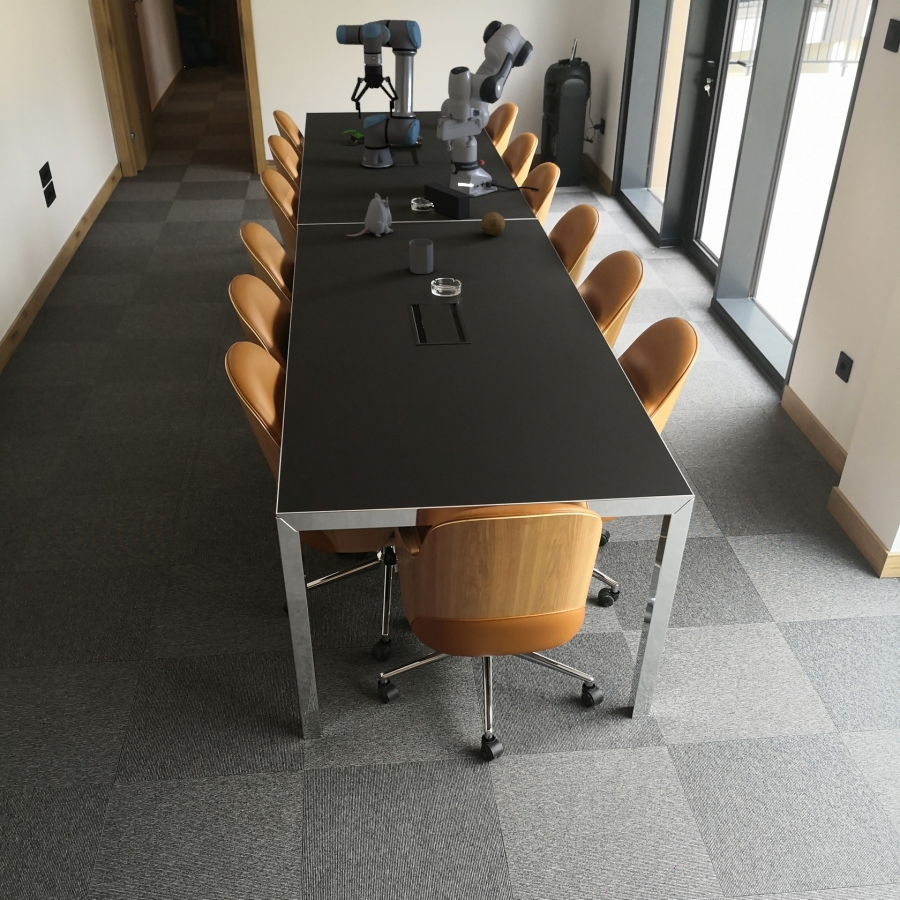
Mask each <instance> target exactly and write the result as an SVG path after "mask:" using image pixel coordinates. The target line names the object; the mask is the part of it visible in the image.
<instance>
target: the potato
mask: <svg viewBox="0 0 900 900" xmlns="http://www.w3.org/2000/svg"><path fill="white" fill-rule="evenodd" d="M505 226H506V220H505V218H504V217H503V215H501V214H500V213H498V212H496V211H490V212H487V213H485V214H484V215H483V217H482V218H481V222H480V229H481V231H482V232H483V233H485V234H486V235H489V236H491V237H493V236H498V235H499V234H502V233H503V232H504V229H505Z"/></svg>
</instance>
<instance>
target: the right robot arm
mask: <svg viewBox="0 0 900 900" xmlns="http://www.w3.org/2000/svg"><path fill="white" fill-rule="evenodd" d="M482 35H483V36H482V41H483V43H484V44H485V46H484V50H483V54H484V58H485V59H484V60H483V61H482V62H481V64H480V65H479V66H478V68H477V69H476V72H475V73H473V72H471V71H470V68H469V67H467V66H455V67H452V69H450V71H449V75H448V82H447V83H448V85H447V87H448V88H447V94H448V98H446V99H445V100H444V101H443V102H442V104H441V106H440V116H439V118H438V119H437V126H436V127H437V128H436V138H437V140H438V141H442V142H444V143H445V145H446V151H447V152H451V158H450V179H449V180H450V181H449V186H448V187H449V188H452V189H455V190H457V191H460V192H463V193H465V194H468V195H470V197H471V198H474V197H475V198H476V197H478V196H482V195H486V194H490V193H495V192H497V191H498V188H502V189H504V190H508V191H509V190H510V191H516V190H517V191H518V190H522V189H523V190H524V189H525V190H532V191H535V192H536V191H537V192H540V189H539V188H537V187H532V186H524V185H523V186H517V187H508V186H505V185H502V184H498V181H497V180H495V179H493V178H492V176H491V175H490V174H489V173H488V172H487V171H486V170H484V169H483V168H482V167H481V166H484V165H485V160H483V159H478V143H477V139H476V137H475V136H478V135H480V134H481V133H482V130H483V129H484V128H485V127H487V125H488V124H489V121H490V111H489V106H490V104H491V105H493V104H495V103H497V102H498V101H499V100H500V98H501V97H502V94H503V91H504V87H505V85H506V82H507V80H508V79H509V76H510V74H511V71H512V69H514V68H519V67H523V66H524V65H526V64H527V63H528V62H529V61H530V59H531V57H532V55H533V51H534V46H533V45H532V43H531V42H530V41H529V40H527V39H526V38H524V37H523V35H521V32H520V30H519V29H518V27H517V26H516V25H514V24H511V23H506V24H504V23H503V22H502V21H499V20H491V22H489V23H488V25H486V27H485V29H484V31H483V34H482Z"/></svg>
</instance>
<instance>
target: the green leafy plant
mask: <svg viewBox="0 0 900 900" xmlns="http://www.w3.org/2000/svg"><path fill="white" fill-rule="evenodd" d="M349 132H352V133H351V134H349V136H350V138H349V140H350V141H353V142H348V141H345V140H342V139H340V142H342V143H344V144H345V145H349V146H356V145H358V144H360V143H362V142H365V141H364V133H362V132H359V131H358V130H357V129H346V130H345V131H342V132H340V134H345V133H349Z"/></svg>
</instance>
